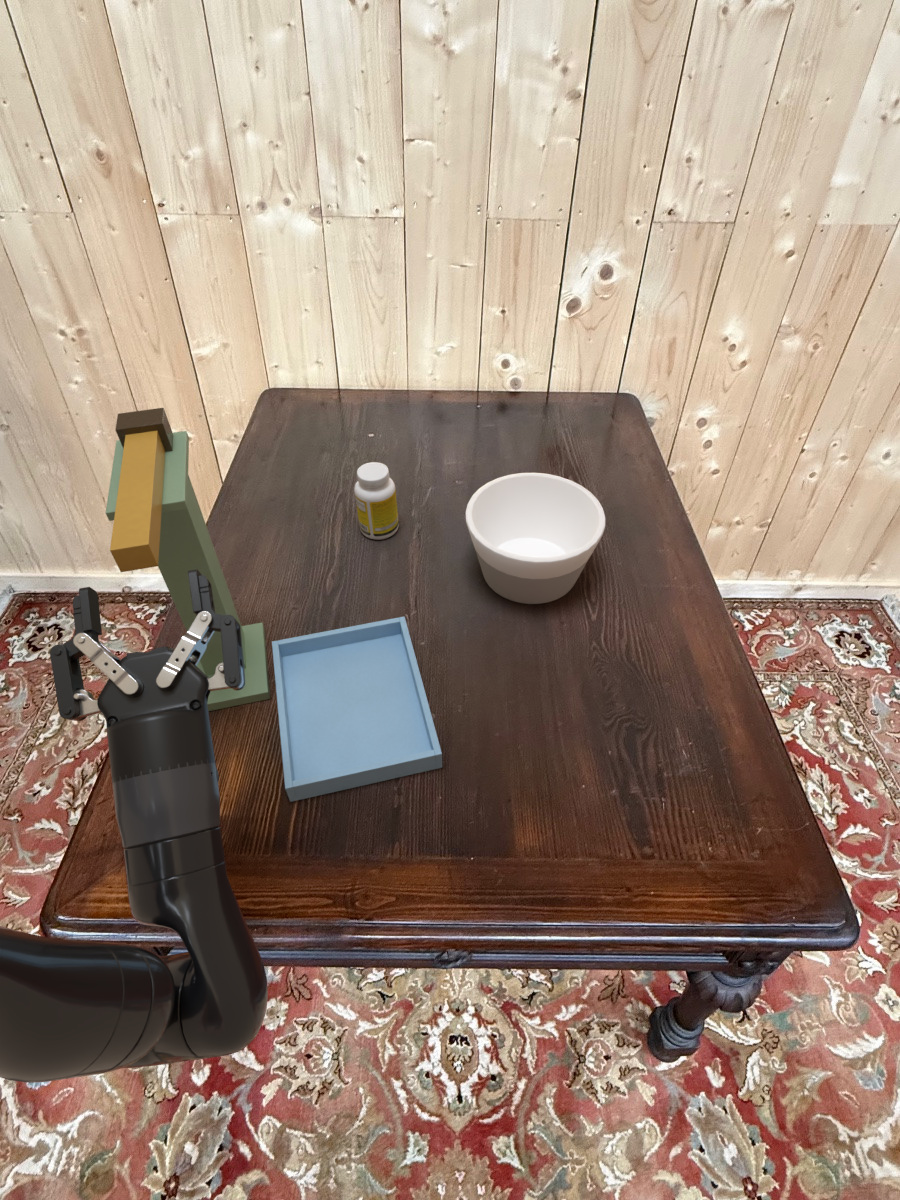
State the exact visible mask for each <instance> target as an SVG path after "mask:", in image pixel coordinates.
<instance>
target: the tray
mask: <svg viewBox="0 0 900 1200" xmlns="http://www.w3.org/2000/svg"><path fill="white" fill-rule="evenodd" d="M271 646H272V648H271V650H272V659H273V669H274V683H275V691H276V705H277V714H278V726H279V736H280V737H279V738H280V746H281V758H282V759H281V760H282V767H283V768H282V770H283V771H282V772H283V781H284V790H285V792H286V795H287V797H288V801H289V802H290V803H292V802H296V801H301V800H305V799H311V798H314V797H318V796H324V795H328V794H332V793H336V792H340V791H345V790H349V789H354V788H359V787H363V786H367V785H371V784H376V783H380V782H385V781H389V780H394V779H399V778H403V777H407V776H411V775H417V774H420V773H425V772H430V771H434V770H439V769H442V768H443V753H442V748H441V745H440V742H439V738H438V733H437V730H436V727H435V723H434V719H433V716H432V711H431V709H430V708H431V707H430V705H429V701H428V698H427V694H426V690H425V686H424V683H423V679H422V676H421V671H420V668H419V664H418V661H417V656H416V654H415V650H414V646H413V642H412V639H411V636H410V631H409V628H408V624H407V620H406V617H405V616H399V617H394V618H388V619H383V620H377V621H372V622H368V623H362V624H357V625H351V626H347V627H341V628H336V629H331V630H330V629H329V630H325V631H321V632H315V633H310V634H304V635H300V636H293V637H288V638H283V639H277V640H273V641H272V640H271Z"/></svg>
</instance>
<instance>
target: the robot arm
mask: <svg viewBox="0 0 900 1200" xmlns="http://www.w3.org/2000/svg"><path fill="white" fill-rule="evenodd" d="M188 577H189V584H190V592H191V599H192V606H193V612H194V613H195V614H196V615H197V616H196V618H195V620H194V622H193V623H192V625H191V627H190V628H189V630H188V632H187V631H186V633H184V634H183V635H182V637H181V638H180V640H179V641H178V643H177V644H176V646H175V648H173V647H169V646H168V645H167V646H160V647H156V648H154V649H151V650H149V651H147V652H145V651H133V652H126V655H125V656H123V657H122V658H120V657H119V656H117V655H116V654H115V653H114V652H112V651H111V650H110V649H109V648H108V647H107V646H106V645H105V644H104V643H103V642H101V640H100V639H99V636H103V630H102V629H103V628H102V621H101V610H100V603H99V602H100V600H99V595H98V592H97V591H96V590H95V589H94V588H92V587H91V586H84V587H80V588H79V589H78V595H75V596H74V597H73V600H72V612H73V621H74V622H73V623H74V631H75V632H74V635H73V637H72V638H71V639H70V640H67V641H65V642H64V643H62V644H55V645H53V646H52V647H51V648H50V650H49V657H50V663H51V670H52V676H53V682H54V683H53V684H54V689H55V694H56V701H57V708H58V712H59V716H60V718H62V719H65V720H68V721H74V722H81V721H84V720H86V719H87V718H88V717H89V716H94V715H97V714H102V715H103V717H104V719H105V722H106V724H105V725H106V735H107V736H106V737H107V747H108V755H109V756H108V757H109V767H110V774H111V775H110V776H111V782H112V783H111V784H112V793H113V802H114V812H115V818H116V820H115V821H116V823H117V828H118V831H119V835H120V839H121V845H122V848H123V850H122V852H123V860H124V868H125V869H124V870H125V872H124V873H125V881H126V885H127V886H126V888H127V897H128V904H129V905H128V906H129V908H130V913H131V915H132V917H133V919H134V921H136V922H137V923H139V925H143V926H150V927H158V928H165V929H168V930H171V931H173V932H175V933H177V935H178V936H179V938H180V939H181V942H182V943H183V944H184V946H185V949H186V950H187V951H184V952H179V953H173V954H168V955H158V954H157V953H155V952H154V951H152V950H150V949H147V948H145V947H141V946H138V945H132V944H126V943H115V942H114V943H112V942H99V941H89V940H88V941H87V940H72V939H71V940H69V939H61V938H55V937H54V938H53V937H49V936H48V937H47V936H43V935H39V934H38V935H37V934H33V933H29V932H25V931H21V930H17V929H13V928H9V927H6V926H2V925H0V1078H1V1079H4V1080H7V1081H13V1082H21V1083H28V1084H32V1083H33V1084H34V1083H35V1084H36V1083H48V1082H54V1081H56V1082H57V1081H61V1080H69V1079H74V1078H83V1077H87V1076H88V1077H89V1076H95V1075H102V1074H107V1073H110V1072H115V1071H118V1070H120V1069H121V1070H122V1069H135V1068H136V1069H137V1068H147V1067H155V1066H163V1065H169V1064H170V1065H171V1064H176V1063H184V1062H190V1061H196V1060H197V1061H198V1060H203V1059H211V1058H219V1057H225V1056H231V1055H233V1054H236V1053H239V1052H241V1051H243V1050H244V1049H246V1048H247V1047H248V1046H249V1045H250V1044H251V1043H252V1042H253V1041H254V1040H255V1038H256V1037H257V1036H258V1034H259V1032H260V1030H261V1028H262V1026H263V1023H264V1020H265V1016H266V1013H267V1008H268V1000H269V987H268V985H269V983H268V977H267V972H266V969H265V968H266V967H265V965H264V961H263V959H262V956H261V953H260V951H259V949H258V946H257V944H256V942H255V940H254V937H253V935H252V933H251V931H250V929H249V926H248V923H247V921H246V919H245V917H244V915H243V912H242V910H241V907H240V904H239V902H238V900H237V898H236V895H235V892H234V889H233V887H232V885H231V883H230V880H229V876H228V871H227V863H226V856H225V849H224V841H223V835H222V827H221V796H220V785H219V781H220V775H219V769H218V768H217V764H216V757H215V749H214V742H213V735H212V727H211V721H210V715H209V714H210V713H209V711H208V705H207V702H208V697H209V694H210V692H211V691H215V690H222V689H229V688H232V689H234V690H241V689H243V688H244V686H245V673H244V661H243V650H242V638H241V627H240V624H239V623H238V622H237V620H236V619H235V618H234V617H233V616H231V615H220V614H216V612H215V607H214V600H213V593H212V587H211V583H210V582H209V580H208V579H207V578H206V576H205V575H201V573H200V572H199V571H198V570H197V569H195V570H189V571H188ZM215 631H218V632H221V641H222V653H223V663H220V664H218V665H217V667H216V669H215V674H214V676H213V677H211V678H208V677H207V676H206V675H205V674H204V673H203V672H202V671H201V670H200V669H199V668H198V667H197V664H198V663H199V661H200V659H201V657H202V656H203V654H204V652H205V650H206V648H207V644H208V642H209V640H210V639H211V637H212V635H213V633H214V632H215ZM193 655H194V657H192V656H193ZM84 656H86V657H87V658H88V659H89V660H90V662H91V663H92V664H93V665H94V666H95V667H96V668H97V669H98V670H99V671H101V672H102V673H103V674H104V675H105V676H106V677H107V678H108V679H107V681H106V683H105V685H104V686H103V688H102V690H101V691H100V693H99V695H98V696H97V699H95V698H94V695H93V694H92V693H91V691H89V690H86V689H85V686H84V680H83V674H82V668H81V662H80V659H81V658H83V657H84Z"/></svg>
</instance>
